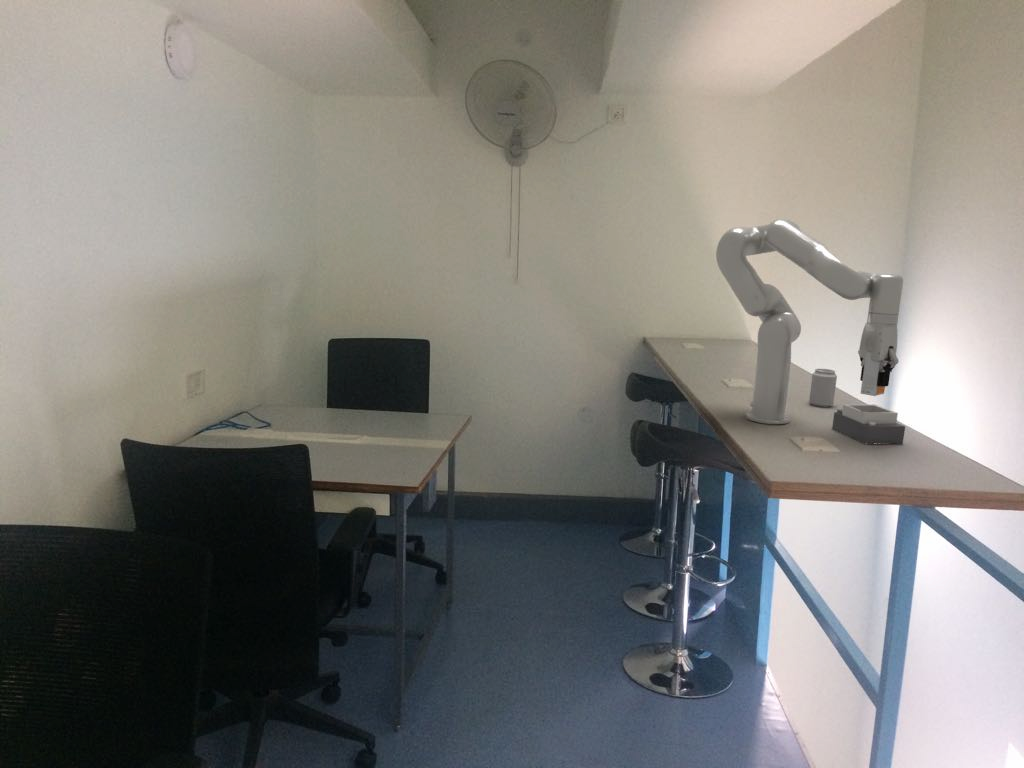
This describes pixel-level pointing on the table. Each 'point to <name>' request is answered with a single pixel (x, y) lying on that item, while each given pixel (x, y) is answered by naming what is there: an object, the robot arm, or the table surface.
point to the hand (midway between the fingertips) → (874, 382)
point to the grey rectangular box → (869, 424)
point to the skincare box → (871, 377)
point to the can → (823, 387)
